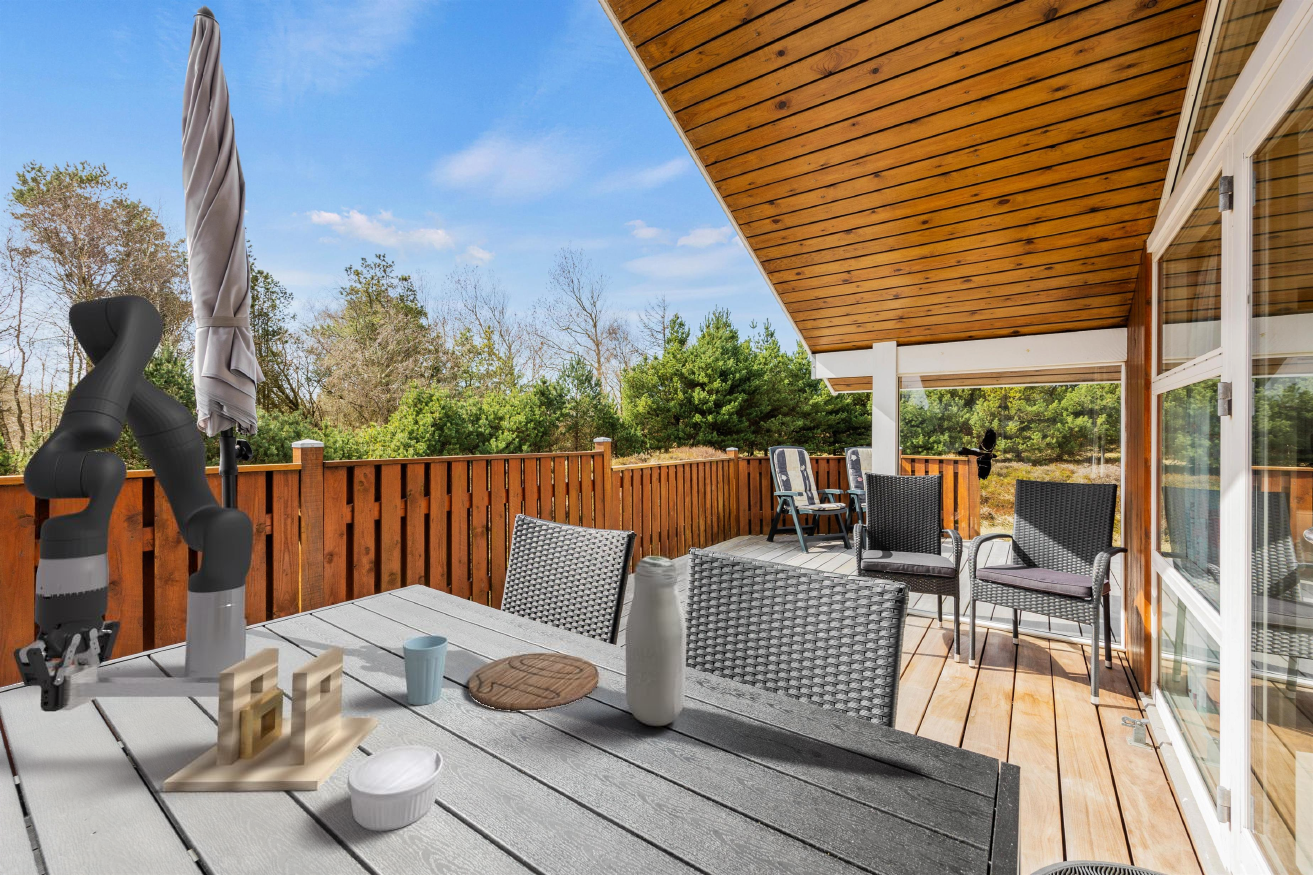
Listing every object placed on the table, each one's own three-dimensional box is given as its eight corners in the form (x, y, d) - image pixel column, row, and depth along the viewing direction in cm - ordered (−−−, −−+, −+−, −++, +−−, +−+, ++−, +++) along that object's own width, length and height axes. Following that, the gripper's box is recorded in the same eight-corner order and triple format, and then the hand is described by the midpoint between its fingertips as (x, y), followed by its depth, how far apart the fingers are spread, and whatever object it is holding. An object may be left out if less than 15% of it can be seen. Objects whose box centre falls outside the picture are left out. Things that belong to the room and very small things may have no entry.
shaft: (40, 710, 81) (42, 675, 81) (68, 698, 85) (69, 664, 85) (227, 709, 82) (228, 675, 83) (246, 697, 86) (247, 664, 87)
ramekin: (434, 832, 68) (435, 787, 68) (332, 844, 66) (333, 798, 66) (448, 779, 79) (449, 740, 79) (361, 787, 77) (362, 748, 77)
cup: (448, 687, 109) (449, 633, 109) (445, 705, 102) (446, 646, 102) (405, 692, 107) (406, 636, 107) (399, 710, 99) (400, 650, 100)
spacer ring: (240, 759, 81) (241, 709, 81) (271, 734, 88) (272, 689, 88) (251, 759, 81) (253, 709, 81) (281, 734, 88) (283, 689, 88)
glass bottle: (692, 714, 99) (694, 554, 100) (669, 741, 90) (671, 564, 91) (641, 703, 104) (644, 549, 104) (614, 727, 94) (617, 558, 95)
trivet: (555, 725, 96) (555, 713, 96) (439, 699, 105) (439, 688, 105) (619, 672, 119) (619, 663, 119) (519, 654, 128) (519, 646, 128)
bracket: (162, 791, 75) (166, 684, 75) (253, 725, 93) (256, 639, 93) (317, 789, 76) (320, 684, 76) (377, 725, 94) (380, 639, 94)
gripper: (92, 575, 91) (88, 683, 90) (-8, 598, 77) (-14, 726, 76) (141, 575, 91) (137, 683, 91) (50, 598, 77) (45, 726, 76)
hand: (68, 702), depth 83 cm, fingers closed on shaft, 4 cm apart
